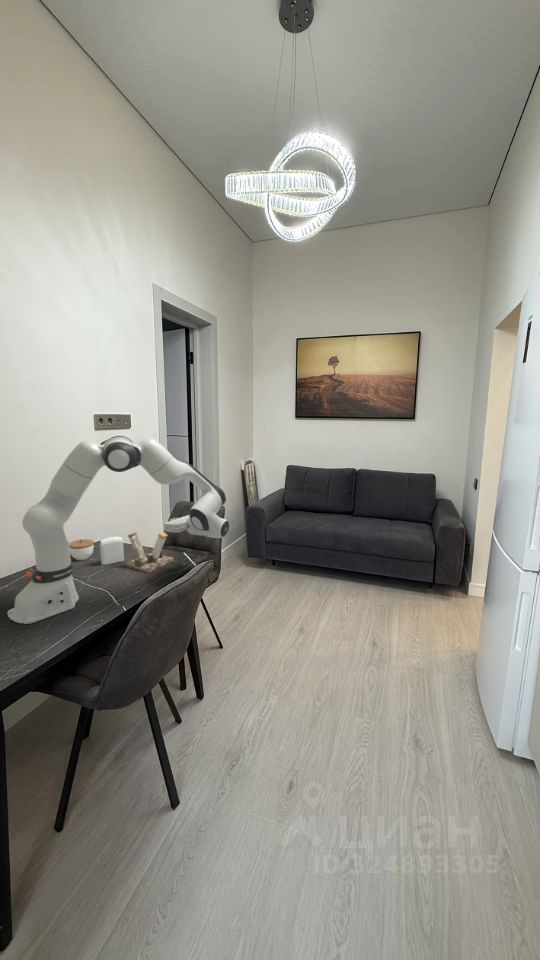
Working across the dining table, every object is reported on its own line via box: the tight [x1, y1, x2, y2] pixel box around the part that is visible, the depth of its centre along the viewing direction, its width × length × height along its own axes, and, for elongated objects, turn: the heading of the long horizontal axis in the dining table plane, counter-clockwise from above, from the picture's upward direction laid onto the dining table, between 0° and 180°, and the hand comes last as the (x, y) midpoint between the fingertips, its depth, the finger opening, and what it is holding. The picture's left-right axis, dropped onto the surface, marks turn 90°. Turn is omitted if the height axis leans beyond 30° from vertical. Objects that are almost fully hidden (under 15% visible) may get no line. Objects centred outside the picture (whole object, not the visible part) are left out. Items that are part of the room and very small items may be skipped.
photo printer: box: [99, 536, 125, 566], centre depth 178 cm, size 10×4×12 cm, turn 124°
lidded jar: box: [69, 538, 95, 561], centre depth 183 cm, size 11×11×9 cm
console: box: [125, 532, 174, 573], centre depth 177 cm, size 16×14×16 cm
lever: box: [150, 531, 168, 559], centre depth 177 cm, size 4×3×15 cm, turn 150°
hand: (171, 520), depth 170 cm, fingers closed
